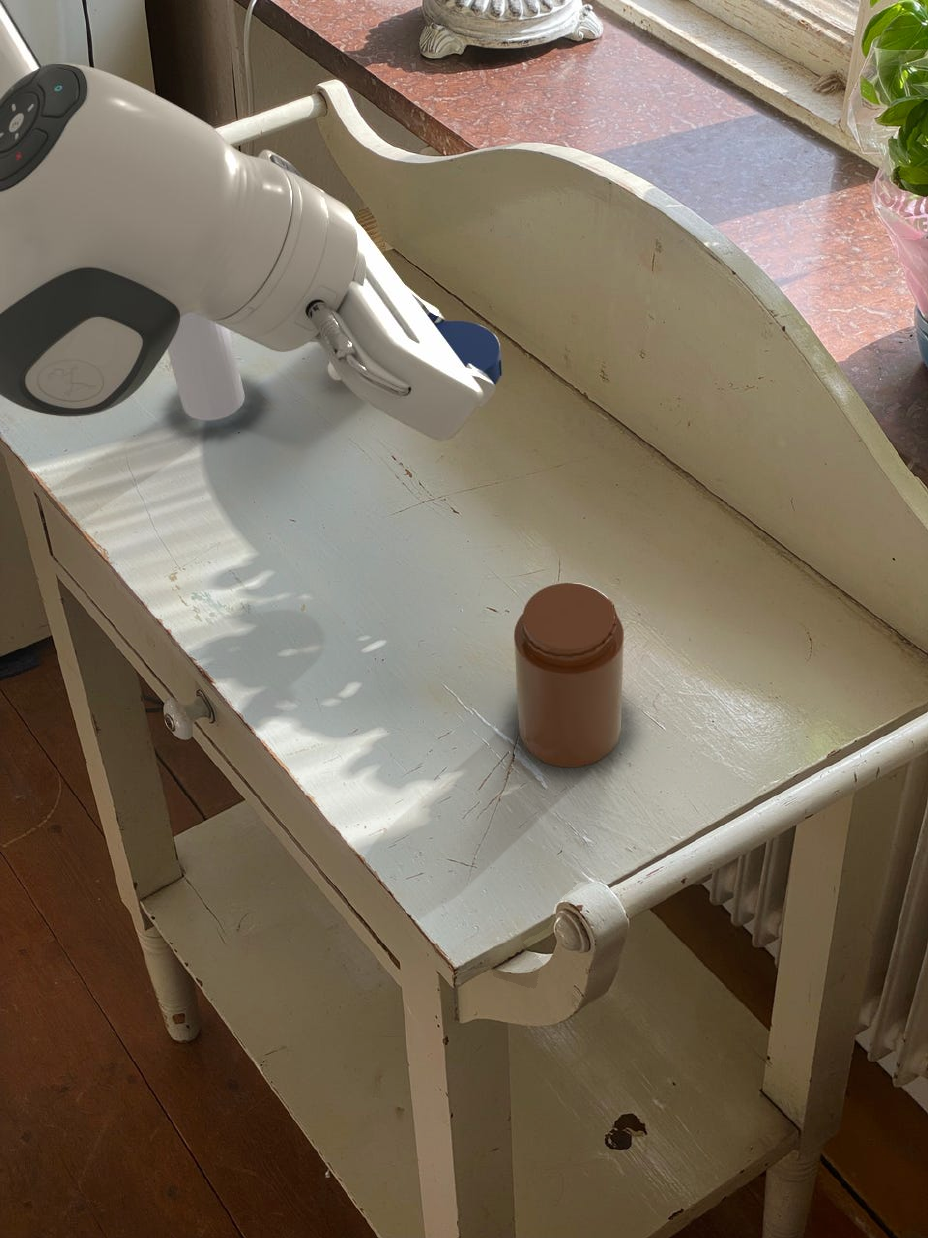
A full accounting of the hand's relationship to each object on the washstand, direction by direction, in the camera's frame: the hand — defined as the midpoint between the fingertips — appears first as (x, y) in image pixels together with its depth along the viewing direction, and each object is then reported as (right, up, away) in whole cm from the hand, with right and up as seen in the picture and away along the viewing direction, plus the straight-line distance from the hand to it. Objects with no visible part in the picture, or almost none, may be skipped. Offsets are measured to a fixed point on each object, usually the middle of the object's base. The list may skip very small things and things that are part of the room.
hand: (460, 358), depth 84 cm
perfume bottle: (-18, -1, +17) cm, 25 cm away
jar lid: (-1, 0, -1) cm, 1 cm away
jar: (+6, -22, -5) cm, 23 cm away
